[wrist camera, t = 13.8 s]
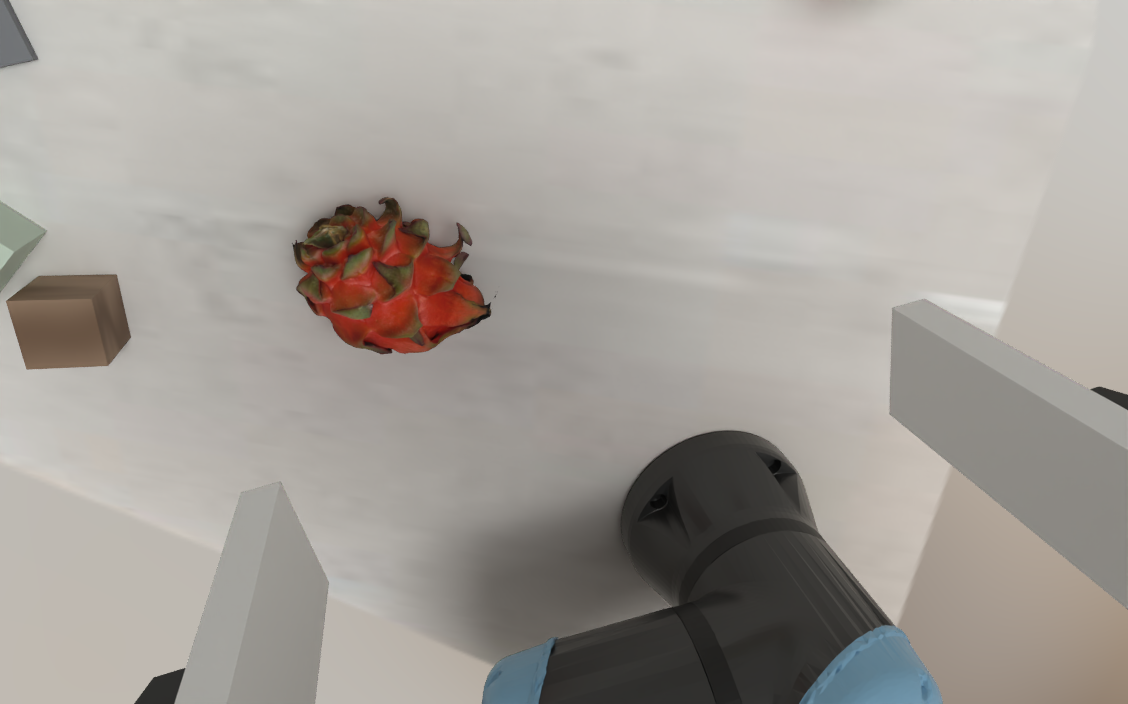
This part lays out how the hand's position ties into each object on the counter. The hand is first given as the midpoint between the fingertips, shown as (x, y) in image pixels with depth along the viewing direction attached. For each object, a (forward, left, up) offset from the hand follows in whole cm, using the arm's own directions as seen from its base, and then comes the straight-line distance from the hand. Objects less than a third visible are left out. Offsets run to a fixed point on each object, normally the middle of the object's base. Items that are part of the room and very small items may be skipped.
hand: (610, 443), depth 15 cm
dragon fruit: (-5, +6, -32) cm, 33 cm away
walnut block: (-3, +24, -32) cm, 40 cm away
